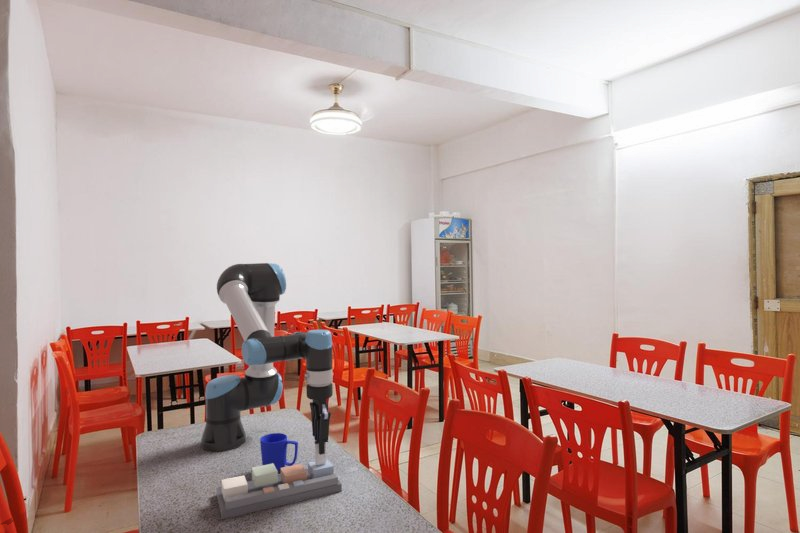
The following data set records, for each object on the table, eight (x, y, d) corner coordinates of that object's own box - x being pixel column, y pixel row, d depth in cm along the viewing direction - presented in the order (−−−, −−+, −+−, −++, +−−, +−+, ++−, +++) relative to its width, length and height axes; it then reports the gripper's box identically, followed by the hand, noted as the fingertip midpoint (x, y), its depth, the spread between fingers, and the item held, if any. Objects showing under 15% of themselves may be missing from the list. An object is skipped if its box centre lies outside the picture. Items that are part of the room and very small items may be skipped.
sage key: (251, 478, 134) (251, 467, 134) (273, 473, 136) (273, 463, 136) (255, 487, 128) (255, 476, 128) (277, 482, 131) (277, 471, 131)
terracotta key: (280, 478, 137) (280, 467, 137) (301, 473, 140) (301, 463, 140) (285, 487, 132) (285, 476, 132) (306, 482, 134) (306, 471, 134)
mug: (292, 477, 144) (291, 444, 143) (255, 474, 146) (255, 441, 146) (303, 465, 152) (302, 434, 152) (268, 462, 154) (267, 432, 154)
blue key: (307, 472, 141) (307, 462, 141) (327, 468, 143) (327, 458, 143) (313, 480, 135) (313, 470, 135) (333, 476, 138) (333, 466, 138)
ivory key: (221, 490, 130) (221, 479, 130) (244, 485, 133) (244, 475, 133) (224, 500, 125) (223, 489, 125) (247, 495, 127) (247, 484, 127)
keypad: (216, 495, 133) (216, 479, 133) (326, 471, 147) (326, 457, 147) (221, 519, 121) (221, 502, 121) (341, 490, 135) (341, 475, 135)
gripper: (301, 380, 143) (302, 457, 143) (313, 390, 131) (314, 475, 132) (325, 377, 146) (326, 453, 147) (339, 387, 135) (340, 469, 135)
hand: (320, 463), depth 139 cm, fingers closed
